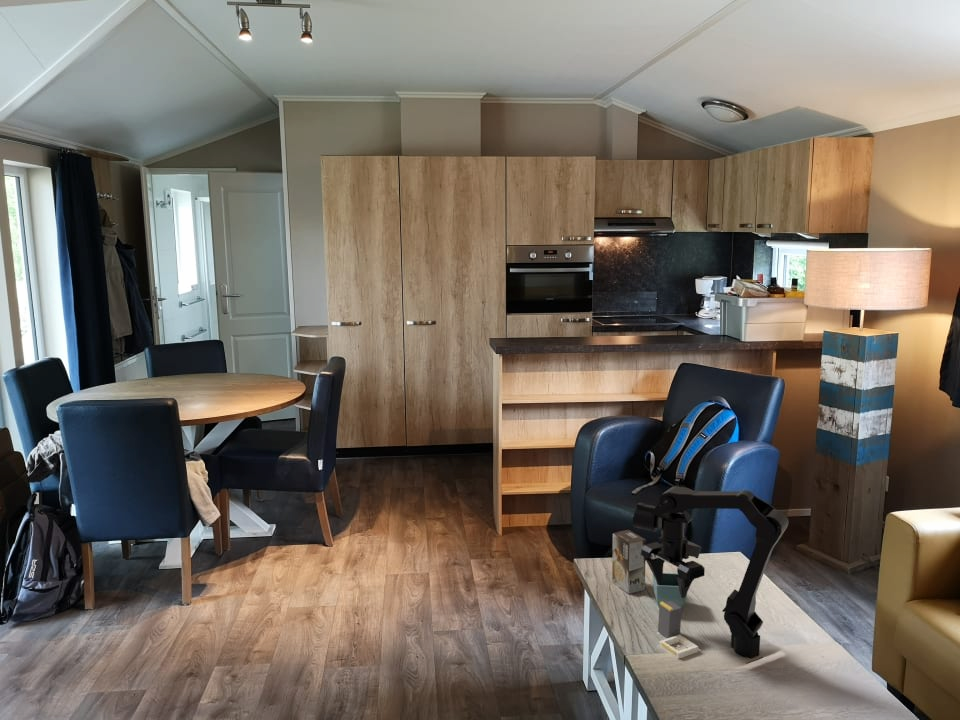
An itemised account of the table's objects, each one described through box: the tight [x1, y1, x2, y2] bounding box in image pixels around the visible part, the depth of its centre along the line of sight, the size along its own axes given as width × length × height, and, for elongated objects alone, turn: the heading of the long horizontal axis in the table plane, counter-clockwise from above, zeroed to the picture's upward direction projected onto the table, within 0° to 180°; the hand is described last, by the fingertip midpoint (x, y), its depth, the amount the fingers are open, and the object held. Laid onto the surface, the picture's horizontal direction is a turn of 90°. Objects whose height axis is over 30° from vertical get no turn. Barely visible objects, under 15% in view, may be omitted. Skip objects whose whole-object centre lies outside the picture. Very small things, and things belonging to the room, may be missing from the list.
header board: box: [656, 631, 702, 659], centre depth 198 cm, size 13×11×2 cm
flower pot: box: [652, 572, 688, 609], centre depth 218 cm, size 9×9×9 cm
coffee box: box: [611, 529, 647, 595], centre depth 231 cm, size 9×6×16 cm
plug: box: [657, 601, 683, 639], centre depth 202 cm, size 4×4×9 cm
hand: (671, 590), depth 204 cm, fingers open, 9 cm apart
